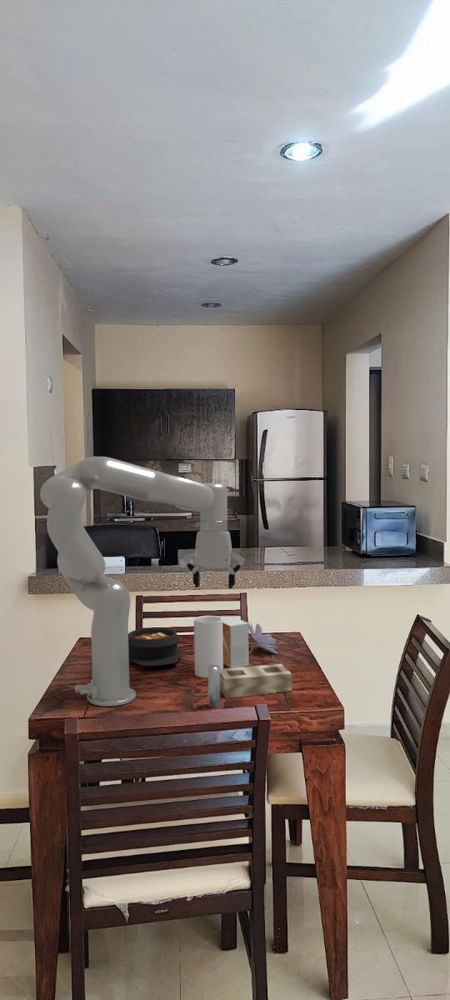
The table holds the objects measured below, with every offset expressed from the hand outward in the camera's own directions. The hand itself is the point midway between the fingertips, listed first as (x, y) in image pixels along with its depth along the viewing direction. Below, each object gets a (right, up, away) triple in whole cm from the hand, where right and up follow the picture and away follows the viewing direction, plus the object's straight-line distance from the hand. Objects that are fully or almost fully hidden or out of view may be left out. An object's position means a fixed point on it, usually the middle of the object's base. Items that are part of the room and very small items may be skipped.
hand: (214, 587), depth 207 cm
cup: (-2, -26, +5) cm, 26 cm away
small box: (+6, -25, +14) cm, 29 cm away
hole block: (+11, -26, -9) cm, 30 cm away
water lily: (+15, -24, +25) cm, 38 cm away
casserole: (-19, -25, +20) cm, 37 cm away
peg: (0, -28, -21) cm, 35 cm away
